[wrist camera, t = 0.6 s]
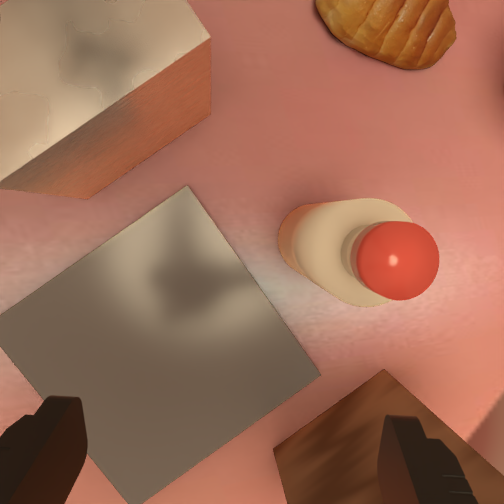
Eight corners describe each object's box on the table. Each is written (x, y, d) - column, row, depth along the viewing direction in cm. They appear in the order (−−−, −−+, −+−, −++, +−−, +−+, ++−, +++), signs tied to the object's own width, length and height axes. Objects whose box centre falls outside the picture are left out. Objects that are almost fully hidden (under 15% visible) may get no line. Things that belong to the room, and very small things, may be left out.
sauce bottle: (283, 199, 31) (347, 185, 16) (352, 209, 31) (474, 204, 17) (272, 269, 31) (327, 317, 17) (341, 278, 31) (452, 333, 17)
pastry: (462, 17, 31) (497, -10, 27) (410, 99, 31) (437, 84, 27) (354, -66, 30) (375, -106, 26) (300, 20, 30) (313, -8, 26)
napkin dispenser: (87, 199, 29) (-9, 187, 16) (40, 135, 29) (-99, 71, 16) (210, 114, 30) (210, 36, 17) (166, 49, 29) (131, -83, 16)
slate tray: (135, 500, 31) (132, 510, 30) (-9, 322, 29) (-16, 326, 28) (317, 369, 32) (321, 374, 31) (188, 186, 30) (187, 185, 29)
